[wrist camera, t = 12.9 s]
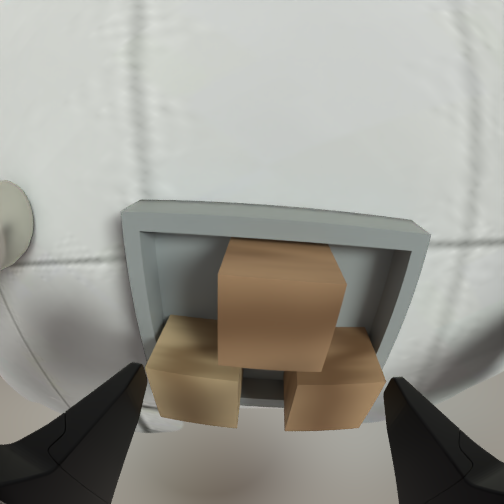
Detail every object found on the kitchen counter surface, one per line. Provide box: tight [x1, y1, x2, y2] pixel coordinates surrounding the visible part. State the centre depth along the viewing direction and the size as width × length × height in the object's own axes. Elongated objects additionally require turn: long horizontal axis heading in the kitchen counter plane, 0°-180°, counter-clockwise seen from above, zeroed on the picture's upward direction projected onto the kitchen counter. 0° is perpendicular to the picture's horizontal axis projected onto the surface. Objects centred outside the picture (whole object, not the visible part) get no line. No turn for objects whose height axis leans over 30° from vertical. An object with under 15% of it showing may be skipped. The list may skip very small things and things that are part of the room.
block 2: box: [218, 237, 347, 372], centre depth 14 cm, size 5×5×5 cm
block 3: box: [283, 327, 386, 431], centre depth 16 cm, size 5×5×5 cm
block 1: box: [145, 314, 243, 428], centre depth 16 cm, size 5×5×5 cm
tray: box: [121, 200, 431, 408], centre depth 17 cm, size 16×14×2 cm
